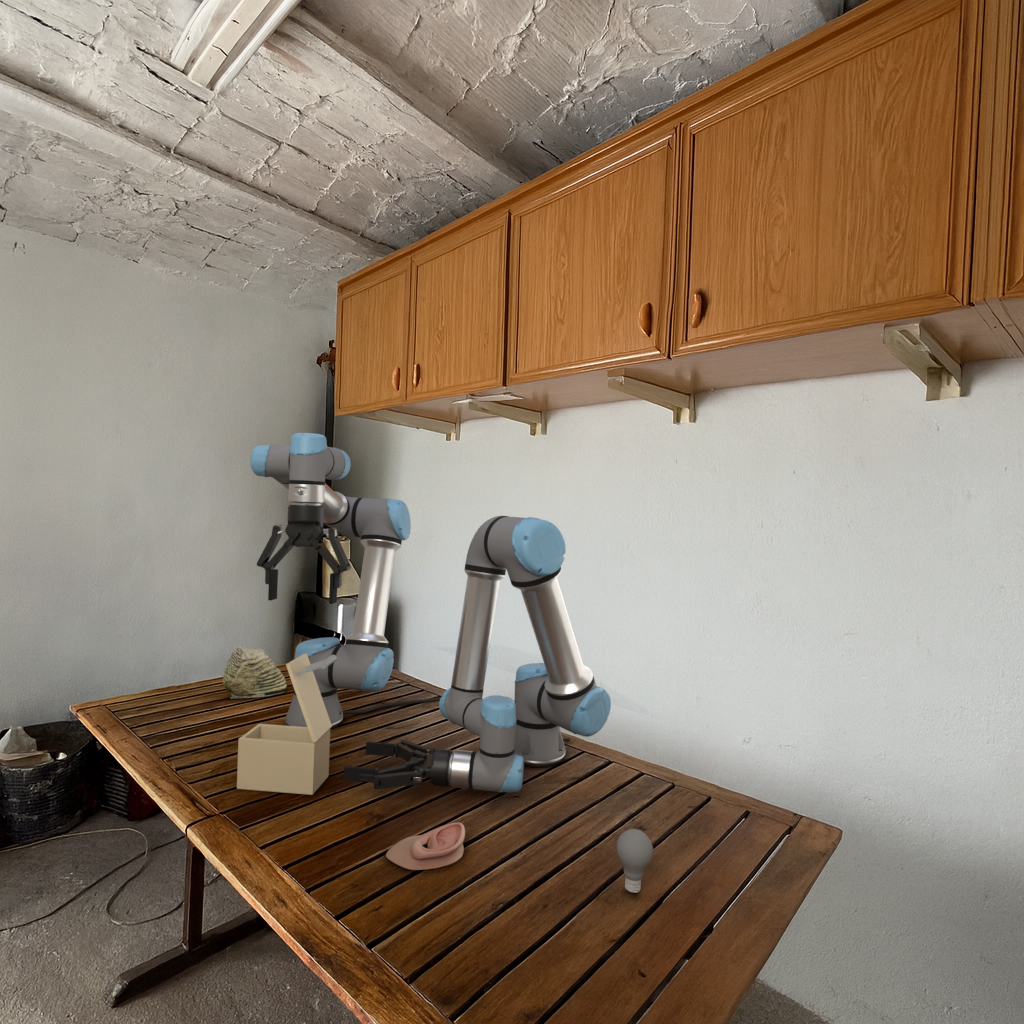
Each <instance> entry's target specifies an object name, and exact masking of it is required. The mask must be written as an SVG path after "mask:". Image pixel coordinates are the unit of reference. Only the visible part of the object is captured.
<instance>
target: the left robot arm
mask: <svg viewBox="0 0 1024 1024" xmlns="http://www.w3.org/2000/svg"><path fill="white" fill-rule="evenodd" d="M327 442H328V441H327V437H326V436H325V435H323V434H320V433H311V432H296V433H295V432H294V433H293V434H292V435H291V438H290V445H280V444H263V445H262V444H261V445H257V446H255V447H254V448H253V450H251V455H250V459H249V464H250V465H249V466H250V468H251V471H252V473H253V474H254V475H256V476H257V477H264V478H272V479H274V480H275V481H277V483H279V484H280V485H282V486H283V488H285V489H287V491H288V496H287V498H288V500H287V501H288V502H289V503H290V504H289V505H288V506H287V525H286V526H284V525H282V524H275V525H273V526H272V530H271V536H270V537H269V539H268V540H267V543H266V545H265V547H264V548H263V550H262V552H261V554H260V556H259V558H258V560H257V562H256V566H257V567H260V568H261V569H264V583H265V585H268V589H267V590H268V591H267V592H268V593H267V600H268V601H274V600H277V599H278V586H279V585H278V584H279V583H278V582H279V569H278V568H276V567H277V565H279V564H280V562H281V561H282V560H283V559H284V558H285V557H286V556H287V554H288V553H289V552H290V551H291V550H292V549H293V548H294V547H295V548H301V547H304V548H314V550H316V551H317V552H318V553H319V555H320V556H321V558H322V559H323V560H324V561H325V562H326V564H327V565H328V567H329V568H330V569H331V571H332V573H329V589H328V590H329V591H328V592H329V593H328V604H329V605H333V604H335V603H337V602H338V589H340V588H342V580H343V573H345V572H347V571H350V570H351V569H352V566H351V564H350V561H349V559H348V557H347V555H346V552H345V550H344V547H343V546H342V543H341V540H340V539H339V533H340V534H342V535H345V536H349V537H352V538H360V544H361V546H362V547H363V548H364V553H363V559H362V564H361V565H362V566H361V572H360V580H359V587H358V592H357V593H358V594H357V601H356V606H355V607H356V608H355V615H354V622H353V628H352V632H351V634H350V635H348V636H347V637H346V638H345V644H341V641H340V639H339V638H338V637H334V636H331V637H330V636H329V637H328V636H327V637H318V638H313V639H307V640H304V641H302V642H299V643H298V644H297V645H296V647H295V652H294V653H295V654H294V659H296V658H298V657H299V656H301V655H303V654H305V653H307V656H308V659H309V661H310V664H314V663H317V662H320V661H323V660H325V659H327V658H328V657H330V656H331V655H336V657H337V660H336V661H335V662H334V663H332V664H331V665H329V666H328V667H327V668H325V669H321V668H319V669H316V670H313V673H314V676H315V679H316V682H317V685H318V687H319V690H320V693H321V696H322V699H323V702H324V705H325V708H326V710H327V713H328V716H329V719H330V722H331V725H332V727H331V728H330V730H332V729H335V728H337V727H339V726H340V725H342V723H343V722H344V715H352V714H353V715H355V714H357V715H358V714H365V713H369V712H374V711H376V710H379V709H383V708H388V707H389V708H390V707H394V706H402V705H411V704H422V703H429V702H437V701H440V698H441V697H442V696H438V697H431V698H423V699H411V700H404V701H403V700H402V701H395V702H388V703H382V704H379V705H376V706H373V707H369V708H365V709H359V710H358V709H356V710H353V709H350V710H343V709H342V706H341V702H340V699H339V695H338V689H342V690H343V689H344V690H351V691H353V690H354V691H362V692H379V691H381V690H382V689H383V688H384V687H385V686H386V685H387V684H388V682H389V680H390V677H391V675H392V671H393V668H394V662H395V659H394V656H395V655H394V651H393V650H392V649H391V648H389V642H390V641H388V640H387V637H385V630H386V624H387V623H386V622H387V615H388V609H389V608H388V607H389V601H390V592H391V586H392V579H393V578H392V577H393V570H394V563H395V556H396V555H395V554H396V552H397V551H398V550H399V549H400V548H402V542H403V541H406V540H408V539H409V537H410V534H411V529H412V527H411V526H412V523H411V515H410V510H409V508H408V505H407V503H406V502H404V501H403V500H401V499H395V498H372V497H356V496H345V495H344V494H343V493H341V492H339V491H334V490H333V488H331V487H330V486H329V485H328V484H327V483H326V480H329V481H336V480H341V479H344V478H345V477H346V476H347V475H348V474H349V472H350V470H351V466H352V463H351V462H352V461H351V458H350V456H349V455H348V454H347V452H346V451H344V450H342V449H340V448H338V447H331V446H328V444H327ZM324 525H325V526H327V527H329V528H325V527H324ZM284 534H286V535H287V537H288V538H287V539H286V540H285V542H283V545H282V546H281V547H280V548H279V549H278V550H277V552H276V553H274V552H275V549H276V548H277V546H278V544H279V542H280V540H281V538H282V536H284ZM324 536H326V538H328V539H329V543H330V545H331V548H332V550H333V552H334V554H335V556H336V557H334V555H333V553H331V551H330V550H329V549H328V547H327V546H326V544H325V542H324V541H323V537H324ZM273 553H274V555H273ZM292 696H293V697H292V699H291V702H290V704H289V708H288V711H287V713H286V715H285V726H297V727H307V724H306V721H305V719H304V716H303V713H302V710H301V707H300V704H299V701H298V698H297V695H296V693H295V690H294V689H293V695H292Z"/></svg>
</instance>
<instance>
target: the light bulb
mask: <svg viewBox="0 0 1024 1024" xmlns="http://www.w3.org/2000/svg"><path fill="white" fill-rule="evenodd" d="M615 849H616V854H617V857H618V859H619V861H620V863H621V865H622V867H623V873H624V874H623V875H624V876H625V878H624V888H625V890H627V891H628V892H630V893H634V894H635V893H639V892H640V891H641V889H642V887H641V886H642V879H643V877H644V875H645V871H646V868H647V867H648V866H649V864H650V863H651V861H652V859H653V855H654V847H653V843H652V841H651V838H649V836H648V835H647V834H646V833H645V832H643V831H642V830H641V829H636V828H629V829H627V830H625V831H623V832H622V833H621V834H620V835H619V837H618V839H617V841H616V847H615Z"/></svg>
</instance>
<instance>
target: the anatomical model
mask: <svg viewBox="0 0 1024 1024" xmlns="http://www.w3.org/2000/svg"><path fill="white" fill-rule="evenodd" d="M465 837H466V828H465V825H464V824H463V823H462V822H458V821H457V822H452V823H448V824H444V825H442V826H441V825H440V826H438V827H436V828H434V829H432V830H429V831H427V832H425V833H423V834H420V835H411V836H407V837H406V838H403V839H401V840H400V841H398V842H397V843H396V844H394V845H392V847H390V848H389V849H388V851H387V852H386V854H385V857H386V859H387V860H389V861H391V862H392V863H393V864H395V865H397V866H399V867H401V868H404V869H406V870H410V871H422V870H423V871H424V870H432V869H433V870H434V869H438V868H442V867H443V868H444V867H447V866H449V865H452V864H454V863H456V862H458V861H459V860H460V859H461V858H462V857H463V855H464V852H465V850H464V841H465Z"/></svg>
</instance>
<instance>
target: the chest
mask: <svg viewBox="0 0 1024 1024" xmlns="http://www.w3.org/2000/svg"><path fill="white" fill-rule="evenodd" d="M237 744H238V747H237V768H236V769H237V770H236V771H237V772H236V773H237V775H236V789H237V790H248V791H258V792H259V791H261V792H272V793H284V794H285V793H286V794H296V795H297V794H298V795H309V796H312V795H314V794H315V792H316V791H317V790H318V789H319V788H320V787H321V786H322V785H323V783H324V782H325V781H326V779H328V778H329V774H330V745H331V729H329V730H328V731H327V732H326V733H324V734H323V735H322V736H321V737H320V738H319V739H318V740H317V741H316V742H312V739H311V736H310V733H309V730H308V727H297V726H286V725H281V724H268V723H258V724H257V725H255V726H254V727H252V728H251V729H250V730H248V731H247V732H246V733H244V734H243V735H241V736H240V737H239V738H238V743H237Z"/></svg>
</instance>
